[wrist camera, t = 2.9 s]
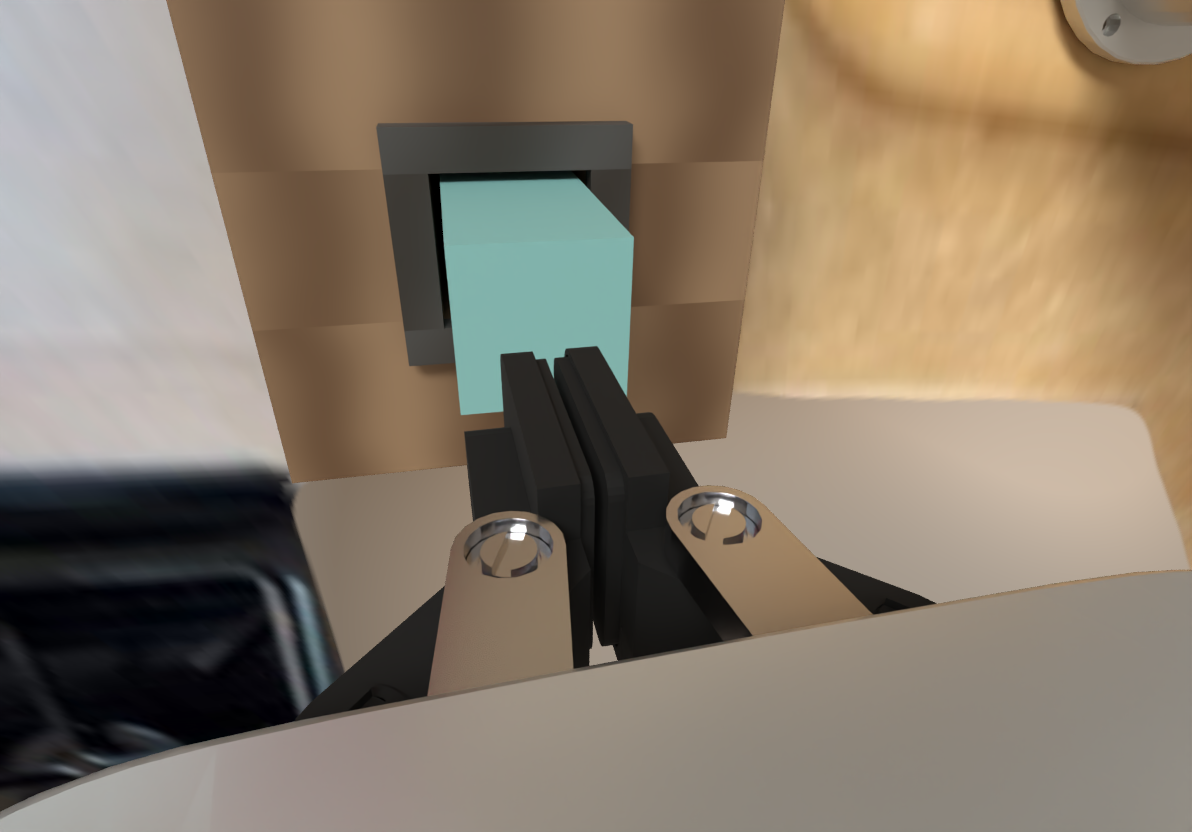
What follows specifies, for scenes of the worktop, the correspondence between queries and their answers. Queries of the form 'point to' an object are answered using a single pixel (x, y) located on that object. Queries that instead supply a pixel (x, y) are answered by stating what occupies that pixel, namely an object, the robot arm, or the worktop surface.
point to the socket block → (471, 145)
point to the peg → (531, 275)
